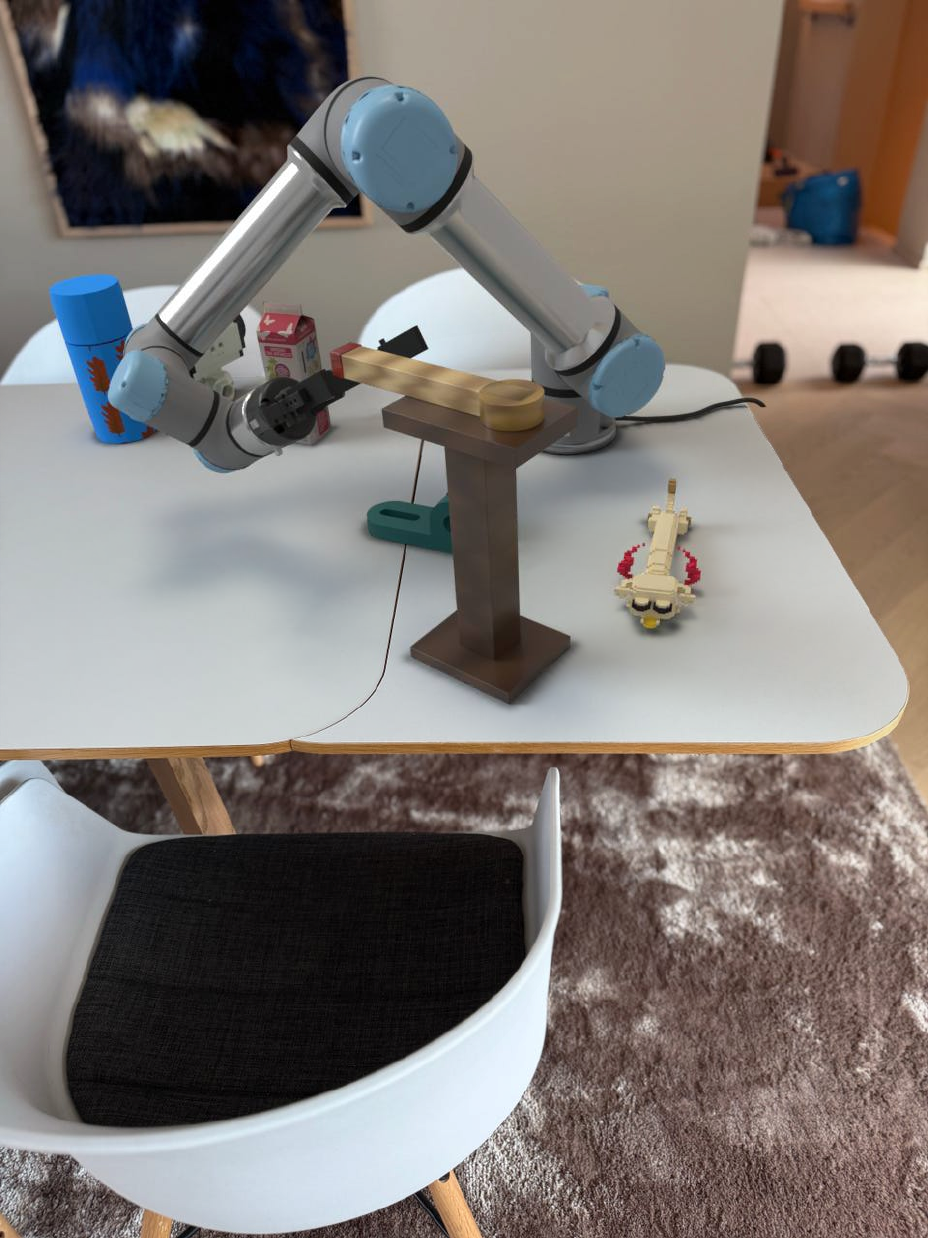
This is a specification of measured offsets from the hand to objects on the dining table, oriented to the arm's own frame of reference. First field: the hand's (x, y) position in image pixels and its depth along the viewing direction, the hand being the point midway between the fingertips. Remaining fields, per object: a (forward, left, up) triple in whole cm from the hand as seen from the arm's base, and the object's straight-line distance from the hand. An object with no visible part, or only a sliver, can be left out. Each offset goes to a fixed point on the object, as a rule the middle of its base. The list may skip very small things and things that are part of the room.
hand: (377, 359), depth 92 cm
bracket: (-4, -18, -32) cm, 37 cm away
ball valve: (+31, -72, -32) cm, 85 cm away
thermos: (+45, -63, -32) cm, 84 cm away
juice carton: (+14, -54, -32) cm, 65 cm away
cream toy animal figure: (-32, -2, -32) cm, 46 cm away
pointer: (-5, +5, -2) cm, 7 cm away
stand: (-9, +9, -32) cm, 35 cm away
